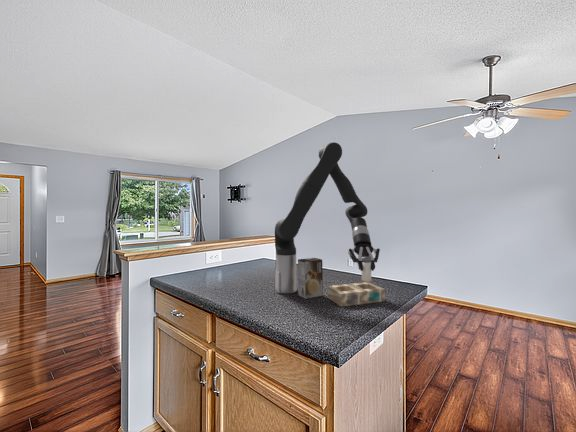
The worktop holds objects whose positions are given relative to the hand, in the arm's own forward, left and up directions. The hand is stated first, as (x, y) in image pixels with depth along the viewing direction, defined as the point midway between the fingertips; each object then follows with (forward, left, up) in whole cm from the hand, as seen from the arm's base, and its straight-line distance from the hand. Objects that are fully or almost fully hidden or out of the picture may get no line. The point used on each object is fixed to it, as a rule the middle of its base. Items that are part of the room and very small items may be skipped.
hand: (367, 269), depth 120 cm
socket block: (-4, +2, -13) cm, 13 cm away
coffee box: (-20, +13, -13) cm, 27 cm away
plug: (+1, +2, -5) cm, 5 cm away
